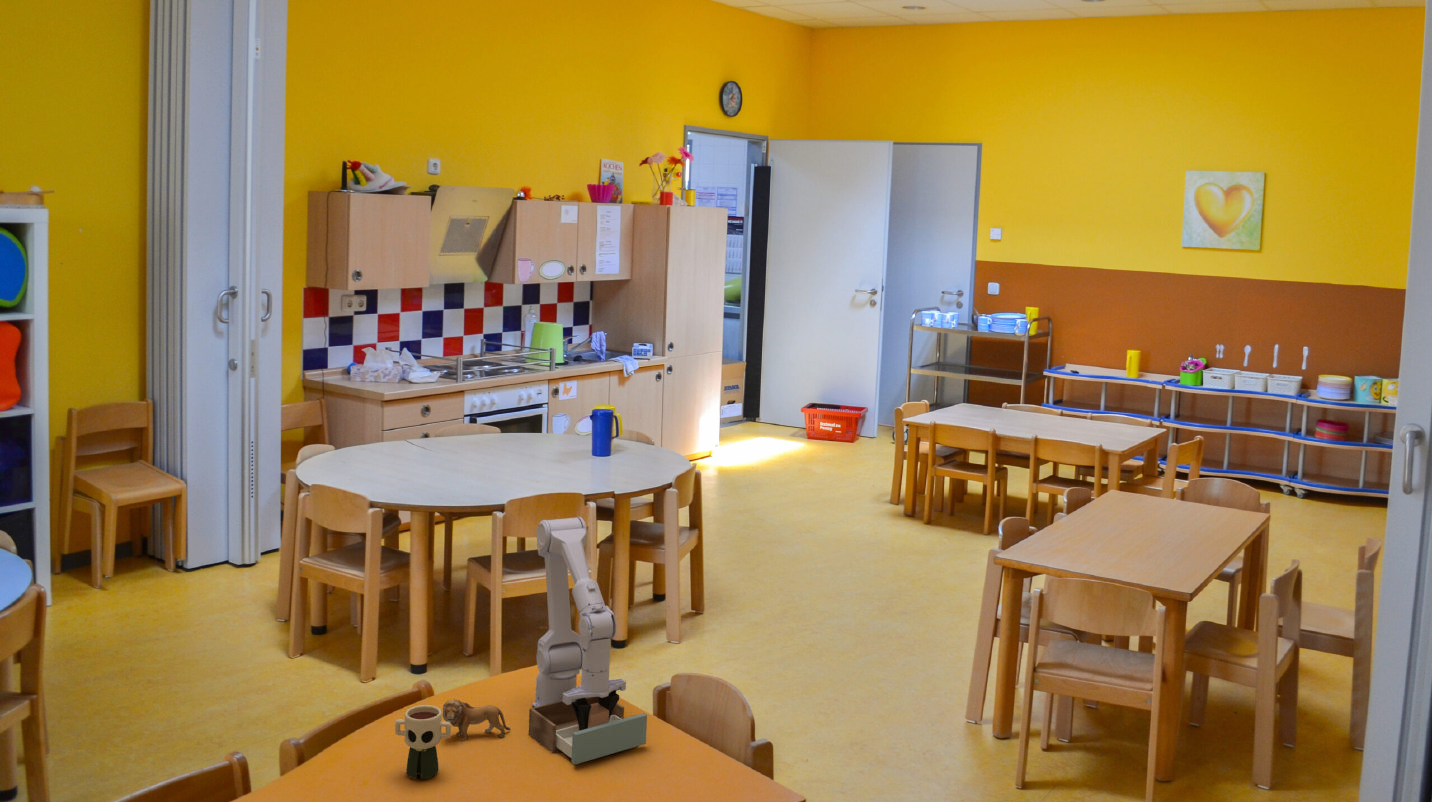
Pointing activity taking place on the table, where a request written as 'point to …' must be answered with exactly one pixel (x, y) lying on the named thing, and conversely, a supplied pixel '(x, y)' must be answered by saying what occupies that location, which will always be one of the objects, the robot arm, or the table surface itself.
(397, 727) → the character mug
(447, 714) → the lion figurine
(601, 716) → the terracotta block
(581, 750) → the green drawer
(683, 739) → the table surface
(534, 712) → the cubby
